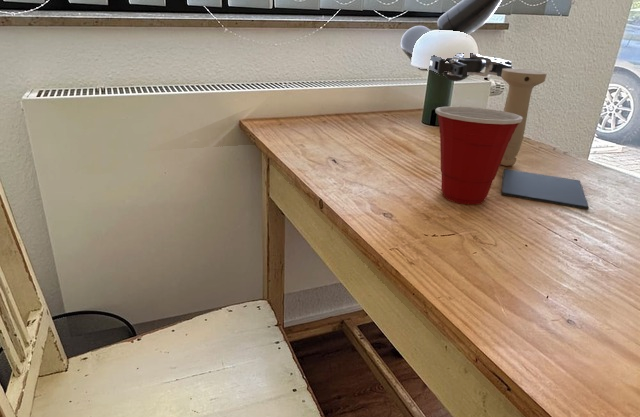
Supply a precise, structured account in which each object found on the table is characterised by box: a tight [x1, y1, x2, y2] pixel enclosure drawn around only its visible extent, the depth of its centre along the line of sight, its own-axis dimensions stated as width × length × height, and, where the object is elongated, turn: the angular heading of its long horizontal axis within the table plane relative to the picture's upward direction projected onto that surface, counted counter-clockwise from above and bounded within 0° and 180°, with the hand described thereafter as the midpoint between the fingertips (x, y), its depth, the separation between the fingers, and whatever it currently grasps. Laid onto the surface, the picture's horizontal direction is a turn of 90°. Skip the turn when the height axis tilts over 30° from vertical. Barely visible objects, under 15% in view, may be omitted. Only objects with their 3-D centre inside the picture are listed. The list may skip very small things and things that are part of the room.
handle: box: [500, 67, 548, 167], centre depth 79 cm, size 5×6×15 cm
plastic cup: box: [434, 106, 523, 206], centre depth 65 cm, size 11×11×12 cm
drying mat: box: [501, 168, 589, 210], centre depth 72 cm, size 11×11×1 cm
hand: (487, 72), depth 86 cm, fingers open, 8 cm apart
